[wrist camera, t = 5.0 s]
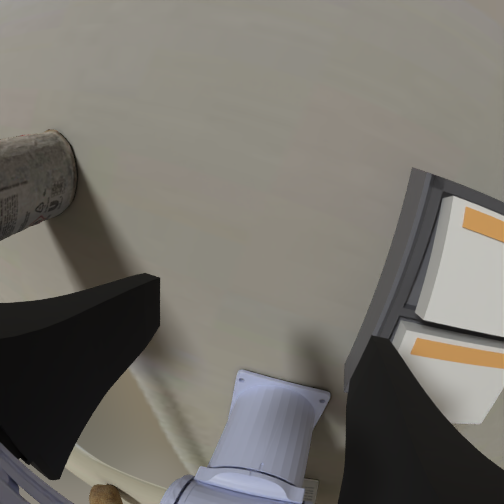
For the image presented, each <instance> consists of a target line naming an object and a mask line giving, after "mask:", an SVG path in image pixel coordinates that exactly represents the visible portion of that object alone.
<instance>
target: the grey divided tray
mask: <svg viewBox="0 0 504 504" xmlns="http://www.w3.org/2000/svg"><path fill="white" fill-rule="evenodd" d="M450 196H455V197H458V198H461V199H463V200H466V201H469V202H471V203H474V204H476V205H479V206H481V207H484V208H486V209H489V210H491V211H494V212H496V213H498V214H501V215H503V216H504V202H502V201H499V200H497V199H495V198H492V197H490V196H488V195H486V194H483V193H481V192H478V191H476V190H473V189H471V188H468V187H466V186H463V185H461V184H458V183H456V182H453V181H450V180H448V179H445V178H442V177H439V176H436V175H434V174H431V173H428V172H425V171H422V170H419V169H416V168H413V167H412V171H411V175H410V179H409V183H408V188H407V192H406V195H405V199H404V203H403V207H402V210H401V214H400V218H399V221H398V224H397V228H396V231H395V235H394V238H393V241H392V244H391V247H390V250H389V254H388V257H387V260H386V263H385V266H384V268H383V271H382V274H381V277H380V280H379V283H378V285H377V288H376V291H375V294H374V296H373V299H372V301H371V304H370V307H369V309H368V312H367V314H366V317H365V319H364V322H363V324H362V326H361V329H360V331H359V334H358V336H357V338H356V341H355V343H354V345H353V347H352V350H351V352H350V354H349V356H348V359H347V361H346V363H345V369H344V392H346V393H348V390H349V383H350V379H351V377H352V375H353V373H354V371H355V369H356V367H357V365H358V363H359V361H360V359H361V356H362V354H363V352H364V350H365V348H366V346H367V344H368V342H369V339H370V337H371V335H373V336H378V337H382V338H387V339H389V340H390V341H391V343H392V341H393V339H394V336H395V334H396V331H397V329H398V326H399V324H400V321H401V320H403V321H408V322H412V323H417V324H421V325H426V326H430V327H435V328H440V329H444V330H449V331H454V332H459V333H463V334H468V335H473V336H478V337H483V338H488V339H493V340H499V341H504V337H501V336H496V335H491V334H486V333H481V332H476V331H472V330H467V329H462V328H458V327H453V326H448V325H444V324H439V323H435V322H430V321H426V320H423V319H422V318H421V317H420V316H418V315H417V314H416V313H415V310H416V307H417V304H418V301H419V297H420V294H421V291H422V287H423V284H424V280H425V276H426V273H427V269H428V265H429V261H430V257H431V253H432V248H433V244H434V240H435V235H436V230H437V225H438V220H439V214H440V209H441V203H442V198H446V197H450Z"/></svg>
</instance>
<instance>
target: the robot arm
mask: <svg viewBox="0 0 504 504" xmlns="http://www.w3.org/2000/svg"><path fill="white" fill-rule="evenodd" d="M159 326H160V278H159V277H156V276H153V275H150V274H147V273H144V274H138V275H134V276H131V277H127V278H124V279H120V280H117V281H114V282H110V283H107V284H104V285H101V286H97V287H94V288H90V289H87V290H83V291H79V292H75V293H72V294H68V295H63V296H59V297H54V298H48V299H42V300H36V301H26V302H14V303H0V504H30V503H29V502H27V501H26V500H25V499H24V498H23V497H22V496H21V495H20V494H19V487H18V485H19V486H21V487H22V488H23V489H24V490H25V491H26V492H27V493H28V494H30V495H31V496H32V497H33V498H34V499H36V500H37V501H38V502H39V503H40V504H74V503H72V502H71V501H69V500H68V499H66V498H65V497H64V496H62V495H61V494H60V493H58V492H57V491H55V490H54V489H53V488H51V487H50V486H49V485H48V484H46V483H45V482H44V481H43V480H41V479H40V478H39V477H38V476H36V475H35V474H34V473H32V471H30V470H29V469H28V468H27V467H26V466H25V465H24V464H22V463H21V462H20V461H19V460H18V459H19V458H21V459H22V460H23V461H24V462H25V463H27V464H28V465H30V464H31V465H32V466H33V467H34V468H36V469H37V470H38V471H39V472H41V473H42V474H43V475H44V476H46V477H47V478H48V479H50V480H57V479H60V477H61V474H62V472H63V469H64V467H65V465H66V463H67V460H68V458H69V456H70V454H71V452H72V450H73V448H74V446H75V444H76V442H77V440H78V438H79V436H80V434H81V432H82V431H83V429H84V427H85V426H86V424H87V422H88V421H89V419H90V417H91V416H92V413H93V412H94V411H95V409H96V408H97V406H98V405H99V403H100V402H101V400H102V399H103V397H104V396H105V394H106V393H107V392H108V390H109V389H110V388H111V387H112V386H113V384H114V383H115V382H116V381H117V380H118V379H119V377H120V376H121V375H122V374H123V373H124V372H125V371H126V370H127V368H128V367H129V366H130V365H131V364H132V363H133V362H134V360H135V359H136V358H137V357H138V356H139V355H140V353H141V352H142V351H143V350H144V349H145V348H146V346H147V345H148V343H149V342H150V340H151V339H152V337H153V336H154V334H155V333H156V331H157V329H158V328H159ZM241 378H242V379H241ZM243 379H244V380H243ZM330 395H331V394H330V392H328V391H325V390H320V389H316V388H311V387H307V386H303V385H299V384H294V383H290V382H287V381H283V380H279V379H275V378H271V377H268V376H264V375H261V374H257V373H254V372H250V371H247V370H239V371H238V373H237V377H236V382H235V387H234V392H233V398H232V403H231V408H230V413H229V418H228V421H227V424H226V426H225V428H224V430H223V433H222V435H221V437H220V440H219V442H218V444H217V446H216V449H215V451H214V453H213V455H212V457H211V460H210V462H209V464H208V466H207V467H203V466H200V467H199V469H198V471H197V473H196V475H195V476H192V475H185V476H183V477H181V478H179V479H177V480H176V481H174V482H173V483H172V484H171V485H170V486H169V488H168V489H167V491H166V492H165V494H164V496H163V498H162V499H161V502H160V504H313V503H312V502H311V501H303V498H304V494H305V489H304V488H302V485H303V481H304V476H305V471H306V465H307V460H308V455H309V449H310V443H311V437H312V431H313V429H314V427H315V425H316V424H317V422H318V420H319V418H320V416H321V414H322V413H323V411H324V409H325V407H326V405H327V403H328V401H329V399H330ZM321 399H324V400H321ZM338 504H504V470H503V469H501V468H500V467H499V466H497V465H496V464H495V463H493V462H492V461H491V460H489V459H488V458H487V457H486V456H484V455H483V454H482V453H481V452H480V451H478V450H477V449H476V448H475V447H474V446H473V445H472V444H471V443H470V442H469V441H468V440H467V439H466V438H464V437H463V436H462V435H461V434H460V433H459V432H458V430H457V429H456V428H455V427H454V426H453V425H452V424H451V423H450V422H449V421H448V419H447V418H446V417H445V416H444V415H443V414H442V413H441V411H440V410H439V409H438V408H437V406H436V405H435V404H434V402H433V401H432V400H431V399H430V397H429V396H428V395H427V393H426V392H425V391H424V389H423V388H422V386H421V385H420V384H419V382H418V381H417V379H416V378H415V376H414V375H413V373H412V372H411V370H410V369H409V367H408V366H407V364H406V363H405V361H404V360H403V358H402V357H401V356H400V354H399V353H398V351H397V350H396V348H395V347H394V345H393V344H392V343H391V341H390V340H389V339H387V338H382V337H378V336H373V335H371V337H370V339H369V342H368V344H367V346H366V348H365V350H364V352H363V354H362V356H361V359H360V361H359V363H358V365H357V367H356V369H355V371H354V373H353V375H352V377H351V379H350V383H349V390H348V397H347V405H346V449H345V467H344V475H343V480H342V486H341V491H340V495H339V500H338Z"/></svg>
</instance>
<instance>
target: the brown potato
mask: <svg viewBox="0 0 504 504" xmlns="http://www.w3.org/2000/svg"><path fill="white" fill-rule="evenodd" d="M89 501H90V504H123V503H122V499H121V497H120V494H119V492H118V490H117V488H115V487H114V486H112V485H99V484H97V485H94V486H93V487H92V489H91V492H90V495H89Z"/></svg>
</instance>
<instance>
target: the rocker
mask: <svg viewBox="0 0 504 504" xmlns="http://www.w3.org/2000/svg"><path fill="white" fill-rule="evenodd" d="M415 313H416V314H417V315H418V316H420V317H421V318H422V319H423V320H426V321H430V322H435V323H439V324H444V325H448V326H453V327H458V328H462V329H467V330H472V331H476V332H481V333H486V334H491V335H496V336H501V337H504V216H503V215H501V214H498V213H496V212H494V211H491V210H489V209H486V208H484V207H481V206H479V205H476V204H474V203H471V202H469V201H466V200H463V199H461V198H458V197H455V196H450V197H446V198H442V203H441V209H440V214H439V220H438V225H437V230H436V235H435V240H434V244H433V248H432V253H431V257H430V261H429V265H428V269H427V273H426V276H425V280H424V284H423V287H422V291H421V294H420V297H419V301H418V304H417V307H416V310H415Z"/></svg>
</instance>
